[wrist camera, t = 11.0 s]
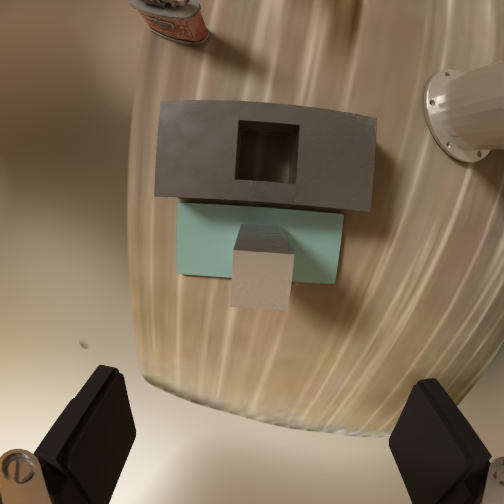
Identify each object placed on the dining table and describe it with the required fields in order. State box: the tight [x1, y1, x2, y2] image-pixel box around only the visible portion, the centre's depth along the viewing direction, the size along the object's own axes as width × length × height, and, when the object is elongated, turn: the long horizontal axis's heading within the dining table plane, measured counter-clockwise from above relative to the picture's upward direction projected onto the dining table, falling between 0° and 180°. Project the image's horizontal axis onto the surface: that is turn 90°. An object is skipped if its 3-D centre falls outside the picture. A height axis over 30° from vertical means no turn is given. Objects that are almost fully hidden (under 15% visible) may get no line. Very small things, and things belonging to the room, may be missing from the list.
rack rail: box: [154, 100, 377, 212], centre depth 29 cm, size 20×9×6 cm, turn 86°
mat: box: [177, 202, 344, 284], centre depth 33 cm, size 18×8×1 cm, turn 86°
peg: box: [230, 224, 295, 310], centre depth 27 cm, size 4×4×12 cm
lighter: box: [129, 0, 210, 46], centre depth 23 cm, size 8×3×10 cm, turn 62°
